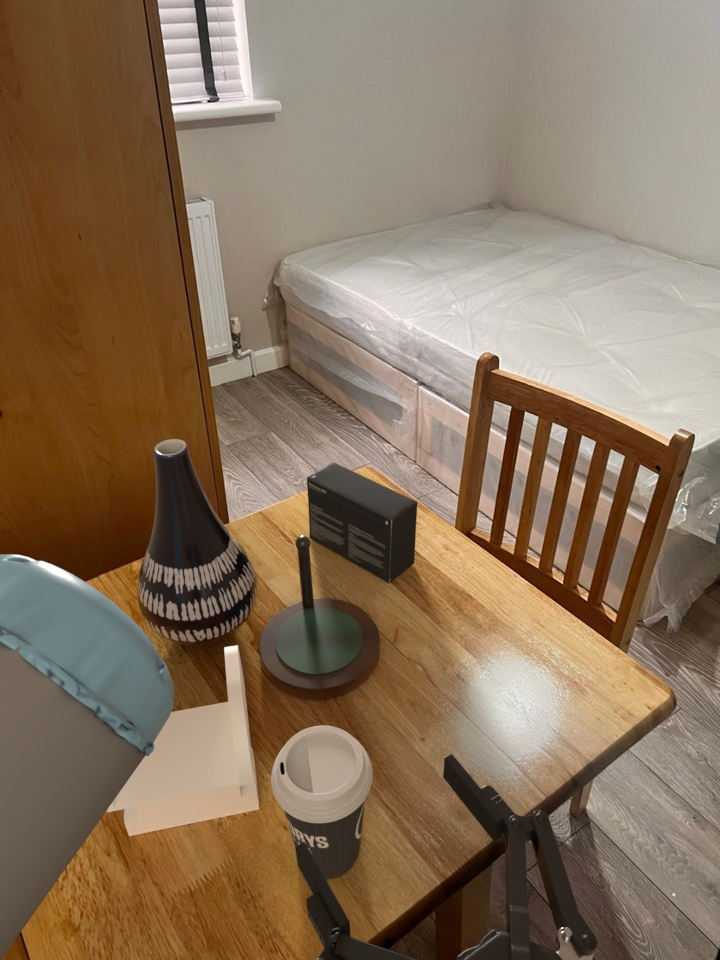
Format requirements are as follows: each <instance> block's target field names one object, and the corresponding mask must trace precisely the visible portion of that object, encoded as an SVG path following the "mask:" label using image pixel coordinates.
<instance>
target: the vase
mask: <svg viewBox="0 0 720 960" xmlns="http://www.w3.org/2000/svg"><path fill="white" fill-rule="evenodd" d="M153 457H154V468H155V469H154V470H155V509H154V519H153V523H152V529H151V534H150V537H149V541H148V544H147V547H146V551H145V554H144V556H143V559H142V562H141V566H140V569H139V573H138V577H137V584H136V585H137V586H136V594H137V600H138V601H137V602H138V607H139V610H140V612H141V614H142V617H143V619H144V621H145V622H146V623H147V625H148V626H149V627H150V629H151V630H153V631H154V633H156V634H157V635H159V636H160V637H161V638H163V639H164V640H167V641H169V642H171V643H174V644H178V645H181V646H189V647H196V646H197V647H198V646H207V645H211V644H215V643H217V642H220V641H223V640H224V639H226V638H228V637H230V636H231V635H234V633H235V632H237V631H238V630H239V629H240V628H241V627H242V626H243V625H244V624H245V623H246V622H247V620H248V619H249V617H250V615H251V614H252V612H253V610H254V607H255V605H256V602H257V598H258V592H259V584H258V583H259V582H258V576H257V572H256V568H255V566H254V563H253V561H252V558H251V557H250V555H249V553H248V552H247V550H246V549H245V547H243V545H242V544H241V542H240V541H239V540H238V539H237V538H236V536H234V534H233V533H232V532H231V531H230V530H229V529H228V527H227V526H226V525H225V524H224V522H223V521H222V520H221V518H220V517H219V516H218V514H217V513H216V511H215V509H214V508H213V506H212V505H211V503H210V501H209V499H208V496H207V494H206V492H205V491H204V488H203V486H202V483H201V481H200V479H199V478H200V477H198V474H197V471H196V468H195V466H194V463H193V460H192V457H191V454H190V450H189V445H188V444H187V442H185V440H182V439H179V438H171V439H165V440H162V441H160V442H159V443H157V444H156V445H155V446H154V448H153Z"/></svg>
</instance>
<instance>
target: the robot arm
mask: <svg viewBox="0 0 720 960" xmlns="http://www.w3.org/2000/svg"><path fill="white" fill-rule="evenodd" d="M174 703H175V689H174V683H173V680H172V676H171V673H170V671H169V669H168V665H167V664H166V662H165V661H164V660H163V659H162V657H161V655H160V654H159V652H158V651H157V648H156V646H155V645H154V643H153V642H152V641H151V639H150V638H149V636H148V635H147V634H146V633H145V632H144V631H143V629H141V627H140V626H139V625H138V624H137V623H136V622H135V621H134V620H133V619H132V618H131V617H130V616H129V615H128V614H127V613H126V612H125V611H124V610H123V609H121V607H119V606H118V605H117V604H116V603H115V602H114V601H112V600H111V599H110V598H108V597H107V596H106V595H105V594H104V593H102V592H100V591H99V590H98V589H96V588H95V587H94V586H92V585H90V584H89V583H88V582H86V581H84V580H83V579H81V578H80V577H78V576H76V575H74V574H73V573H71V572H69V571H67V570H65V569H63V568H61V567H59V566H56V565H54V564H52V563H49V562H46V561H44V560H36V559H34V558H32V557H29V556H25V555H22V554H14V553H13V554H11V553H10V554H5V553H4V554H0V960H2V959H3V957H4V956H5V955H6V954H7V952H8V951H9V950H10V948H11V947H12V945H13V943H15V941H16V939H17V938H18V937H19V935H20V934H21V932H22V931H23V930H24V928H25V926H26V925H27V924H28V922H29V921H30V920H31V918H32V916H33V915H34V914H35V912H36V911H37V910H38V908H39V907H40V906H41V905H42V903H43V902H44V900H45V898H46V897H47V895H48V894H49V893H50V891H51V890H52V888H53V887H54V886H55V884H56V883H57V882H58V880H59V878H60V877H61V876H62V874H63V873H64V871H65V870H66V868H67V867H68V866H69V865H70V864H71V861H72V860H73V859H74V857H75V856H76V855H77V853H78V852H79V850H80V849H81V847H82V846H83V845H84V843H85V842H86V841H87V839H88V838H89V837H90V835H91V834H92V832H93V830H94V829H95V828H96V826H97V825H98V823H99V822H100V821H101V820H102V818H103V817H104V815H105V813H107V809H108V808H109V806H110V805H111V804H112V802H113V801H114V799H115V798H116V796H117V795H118V794H119V792H120V791H121V789H122V788H123V787H124V785H125V784H126V782H127V781H128V780H129V778H130V777H131V775H132V774H133V772H134V771H135V770H136V768H137V767H138V765H139V764H140V763H141V761H142V760H143V758H144V757H145V756H149V755H150V754H151V753H152V752H153V750H154V741H155V739H156V738H157V736H158V734H159V733H160V731H161V730H162V728H163V726H164V725H165V723H166V721H167V720H168V718H169V716H170V714H171V712H173V709H174ZM443 759H444V760H443V774H442V778H443V780H444V781H445V783H447V784H448V786H449V787H450V789H452V791H453V792H454V793H455V795H456V796H457V797H458V799H459V800H460V801H461V802H462V804H463V805H464V806H465V808H466V809H467V810H468V811H469V812H470V814H471V815H472V816H473V817H474V819H475V820H476V822H477V823H478V824H479V825H480V826H481V828H482V829H483V830H484V831H485V833H486V834H487V835H488V837H489V838H490V839H491V841H492V842H493V843H496V842H497V841H499V840H501V839H502V838H503V836H504V837H505V839H504V844H505V907H506V908H505V913H506V915H505V916H506V919H505V920H506V922H505V923H506V925H505V931H504V930H499V931H496V930H495V929H492V930H491V931H489V932H488V933H487V934H486V935H484V936H483V938H482V939H481V940H480V942H479V943H478V944H477V945H476V946H472V947H470V948H467V949H464V951H462V952H461V953H460V954H458V955H457V956H456V960H593V958H594V957H595V952H596V949H597V946H598V939H597V936H596V935H595V934H594V932H593V931H592V929H591V928H590V926H589V925H588V923H587V922H586V920H585V919H584V918H583V917H584V916H582V915H581V913H580V912H579V908H578V905H577V902H576V899H575V895H574V892H573V889H572V887H571V883H570V880H569V877H568V873H567V870H566V867H565V864H564V861H563V857H562V854H561V852H560V848H559V845H558V841H557V839H556V836H555V832H554V829H553V826H552V824H551V820H550V817H549V815H548V813H547V812H546V811H545V810H544V809H543V810H542V809H535V810H534V811H533V812H532V814H528V815H519V814H517V813H516V812H514V811H513V809H512V808H511V807H510V806H509V805H508V803H507V802H506V801H505V800H504V799H503V798H502V796H501V795H500V794H499V793H498V791H497V790H496V789H495V788H494V787H492V786H491V785H490V784H486V785H484V786H482V787H480V786H479V785H478V784H477V782H476V781H475V779H474V778H473V777H472V776H471V775H470V773H469V772H468V771H467V770H466V769H465V768H464V766H463V765H462V764H461V763H460V762H459V760H458V759H457V757H455V756H454V754H453V753H451V754H449V755H446V757H444V758H443ZM526 842H531V846H532V849H533V853H534V856H535V860H536V863H537V866H538V870H539V874H540V877H541V880H542V884H543V888H544V891H545V896H546V898H547V901H548V905H549V908H550V912H551V915H552V919H553V922H554V926H555V928H556V931H557V934H556V937H555V944H556V947H557V951H555V950H553V949H551V948H549V947H546V946H543V945H541V944H538V943H537V942H534V941H531V939H530V938H531V937H530V915H529V914H530V913H529V908H528V882H527V881H528V880H527V878H528V877H527V854H526V853H527V851H526ZM294 850H295V856H296V864H297V868H298V869H299V870H300V873H301V874H302V876H303V878H304V880H305V882H306V884H307V885H308V887H309V889H310V891H311V893H312V895H310V896H308V897H306V898H305V904H306V905H305V906H306V911H307V918H308V920H309V922H310V924H311V926H312V927H313V929H314V931H315V933H316V935H317V937H318V938H319V940H320V942H321V944H322V946H323V949H322V951H321V953H320V955H319V956H318V957H317V958H315V959H314V960H418V959H416V958H413V957H411V956H408V955H405V954H402V953H399V952H396V951H393V950H391V949H387V948H384V947H381V946H379V945H377V944H373V943H370V942H367V941H364V940H361V939H358V938H356V937H353V936H352V935H351V923H350V919H349V918H348V915H347V913H346V912H345V911H344V909H343V906H342V905H341V903H340V902H339V900H338V898H337V897H336V895H335V893H334V891H333V890H332V887H331V885H330V884H329V882H328V881H327V879H325V877H324V875H323V874H322V872H321V870H320V868H319V867H318V865H317V863H316V861H315V860H314V858H313V856H312V854H311V853H310V851H309V849H308V847H307V846H306V844H305V842H302V843H300V844H299V845H297V846H295V845H294Z"/></svg>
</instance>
